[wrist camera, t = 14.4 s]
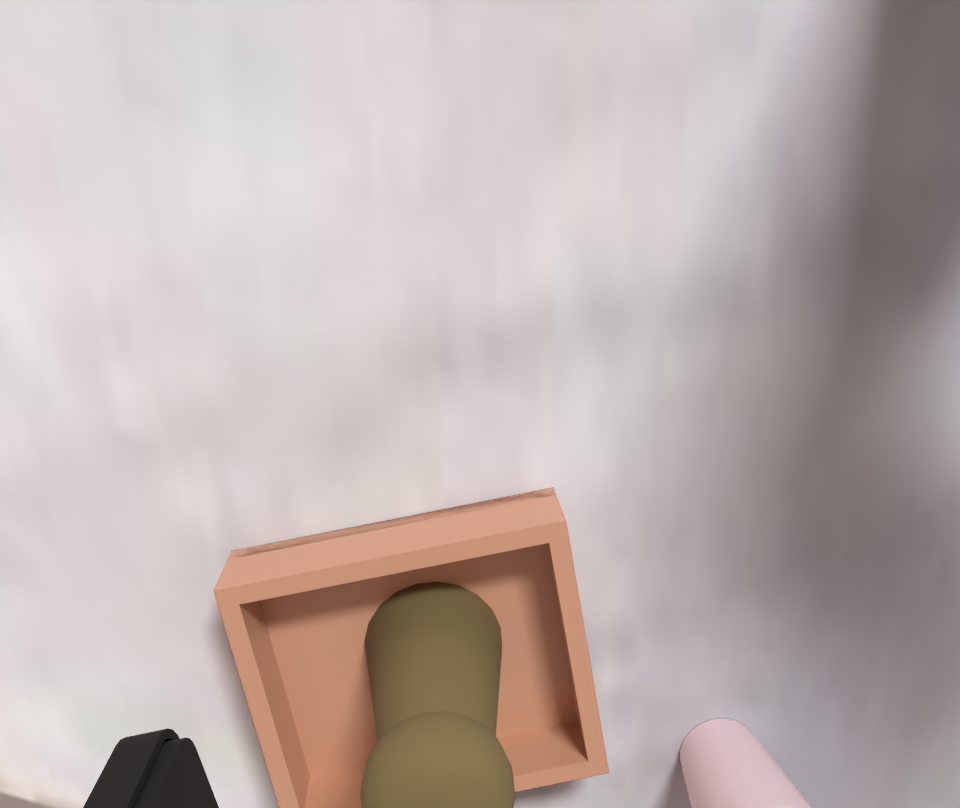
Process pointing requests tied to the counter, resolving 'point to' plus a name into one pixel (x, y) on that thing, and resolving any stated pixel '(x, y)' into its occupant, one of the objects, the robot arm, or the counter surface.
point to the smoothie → (733, 770)
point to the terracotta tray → (343, 625)
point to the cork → (435, 702)
